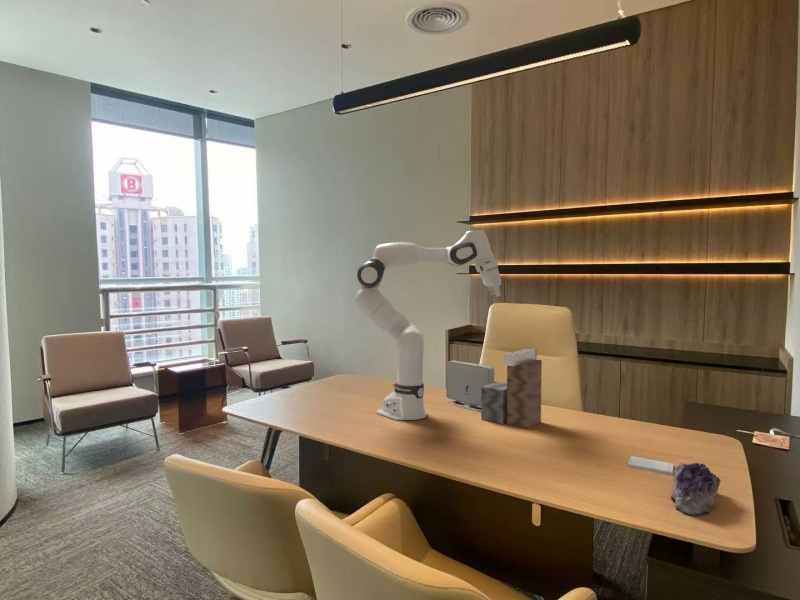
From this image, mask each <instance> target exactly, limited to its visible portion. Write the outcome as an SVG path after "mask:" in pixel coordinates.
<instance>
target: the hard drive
mask: <svg viewBox="0 0 800 600" xmlns="http://www.w3.org/2000/svg"><path fill="white" fill-rule="evenodd" d="M627 467H629V468H631V469H632V468H634V469H637V470H643V471H648V472H655V473H659V474H664V475H670V476H673V474H674V469H675V463H671V462H666V461H661V460H656V459H655V460H654V459H651V458H650V459H649V458H644V457H638V456H633V455H630V457H629V459H628V462H627Z"/></svg>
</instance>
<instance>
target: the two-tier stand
mask: <svg viewBox="0 0 800 600" xmlns="http://www.w3.org/2000/svg"><path fill="white" fill-rule="evenodd" d="M542 365H543V364H542V359H534V360H531V361H528V362H525V363H522V364H518V365H515V366H508V365H506V370H507V371H506V383H504V382H498V381H494V383H491V384H488V385H486V386H483V387H482V394H481V406H480V407H481V411H480V412H481V414H480V415H481V417H480V418H481V420H483V421H486V422H491V423H496V424H499V425H500V424H501V425H504V424H507V425H511V426H516V427H521V428H525V429H531V428H533V427H535V426H537V425H539V424H540V423H541V422H542V371H543V370H542V368H543V367H542ZM538 423H539V424H538Z"/></svg>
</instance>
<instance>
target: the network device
mask: <svg viewBox="0 0 800 600" xmlns="http://www.w3.org/2000/svg"><path fill="white" fill-rule="evenodd" d="M494 382H495V368H494V367H493V366H490V365H489V366H488V365H485V364H478V363H473V362H472V363H471V362H465V361H459V360H455V359H454V360H449V361H447V362H446V387H445V388H446V389H445V391H446V398H447V399H448V400H449V399H450V400H452V401H451V402H450V405H451V404H453V405H452V406H455V405H456V406H455V407H458V406H460V407H459V408H462V407H464V408H463V409H466V408H467V409H466V410H470V409H471V411H473V412H474V411H475V412H481V409H478V408H474V407H481V394H482V387H483V386H486V385H488V384H491V383H494ZM459 401H460V402H459ZM456 402H458V403H464V404H458V403H456Z"/></svg>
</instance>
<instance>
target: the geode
mask: <svg viewBox="0 0 800 600" xmlns="http://www.w3.org/2000/svg"><path fill="white" fill-rule="evenodd" d="M673 474H674V478H673V487H672V492H671V495H670V499H671V500H672V501H674V502H675V507H674V508H675V510H676V511H678V512H680V513H681V514H683V515H686V516H689V517H698V516H699V517H700V516H705V515H709V513H710V511H711V510H712V508H713V506H714V503H715V501H716V497H717V494H718V490H719V487H720V484H721V482H722V480H721V479H720V477H718V476H717V475H715V474H714V473H713V472H711V470H710V468H709V467H707V466H706V464H704V463H701V462H700V464H699V462H694V463H688V464H686V463H684V462H680V463H679V464H678V465H677V466H676V467H674V468H673Z"/></svg>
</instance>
